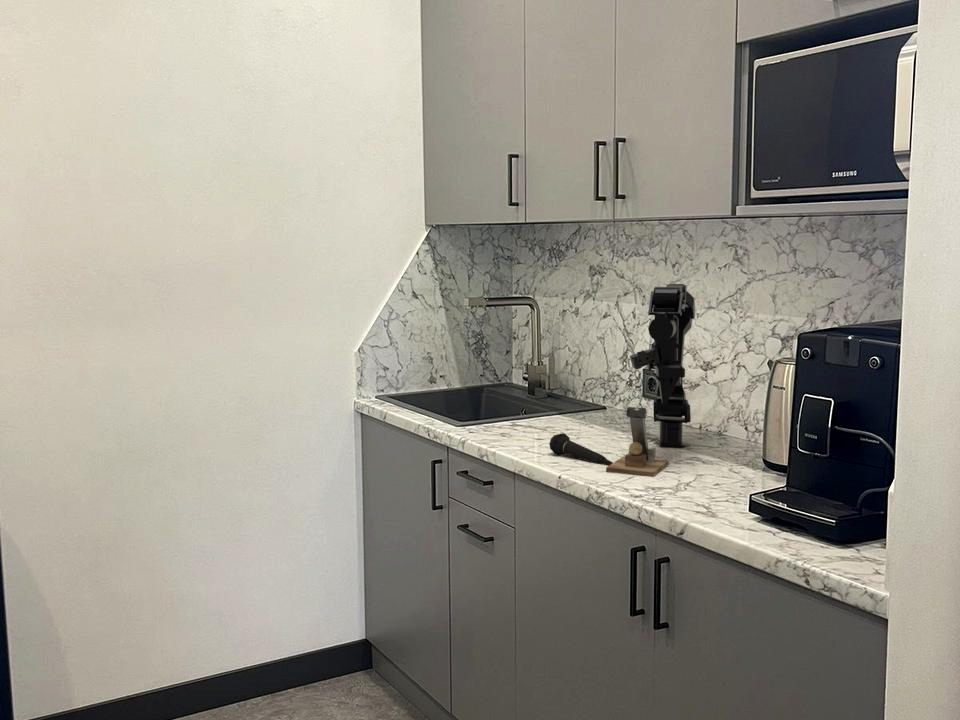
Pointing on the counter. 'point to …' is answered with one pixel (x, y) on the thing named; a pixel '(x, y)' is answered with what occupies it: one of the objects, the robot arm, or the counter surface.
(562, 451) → the microphone
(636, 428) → the lever
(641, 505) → the counter surface
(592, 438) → the counter surface
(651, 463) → the nutcracker base
